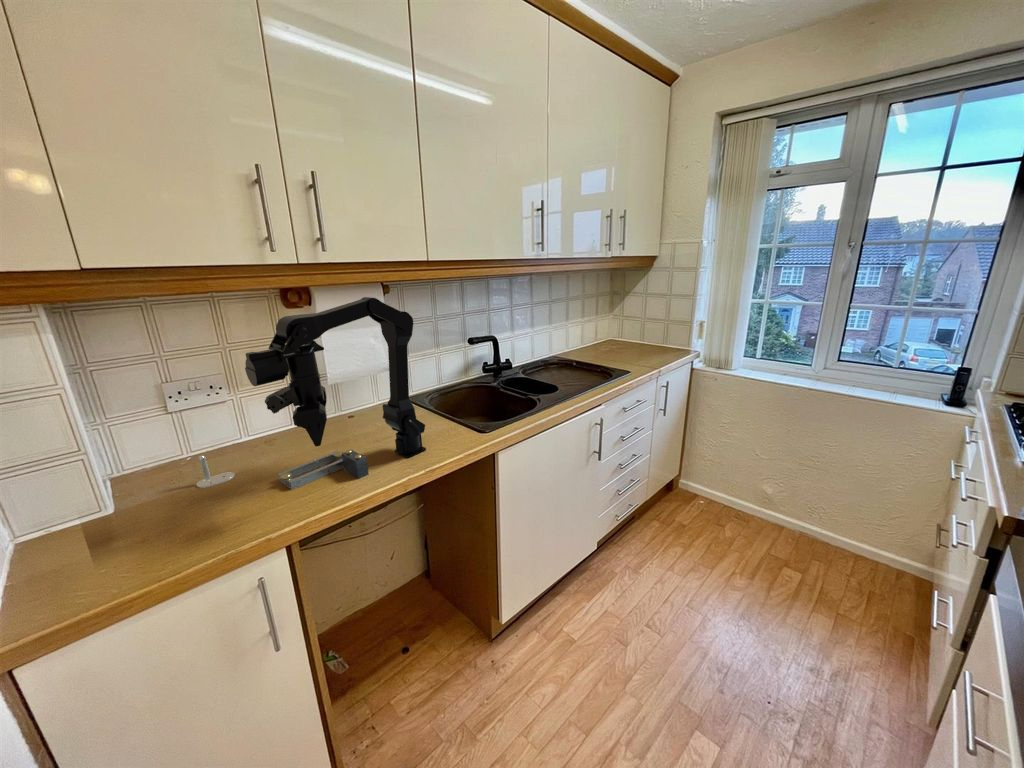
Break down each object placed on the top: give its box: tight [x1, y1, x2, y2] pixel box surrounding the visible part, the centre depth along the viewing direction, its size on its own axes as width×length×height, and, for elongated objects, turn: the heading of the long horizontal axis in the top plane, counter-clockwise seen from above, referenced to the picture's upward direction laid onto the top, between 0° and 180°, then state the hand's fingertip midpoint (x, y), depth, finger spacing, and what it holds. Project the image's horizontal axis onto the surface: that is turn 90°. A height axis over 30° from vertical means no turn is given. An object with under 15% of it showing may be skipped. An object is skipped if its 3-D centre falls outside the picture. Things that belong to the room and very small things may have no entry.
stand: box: [196, 455, 236, 489], centre depth 103 cm, size 8×5×8 cm
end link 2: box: [315, 450, 346, 474], centre depth 110 cm, size 6×7×3 cm
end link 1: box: [277, 459, 329, 490], centre depth 104 cm, size 10×7×3 cm
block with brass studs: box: [342, 449, 369, 480], centre depth 106 cm, size 7×3×6 cm, turn 50°
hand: (318, 437), depth 96 cm, fingers open, 9 cm apart
